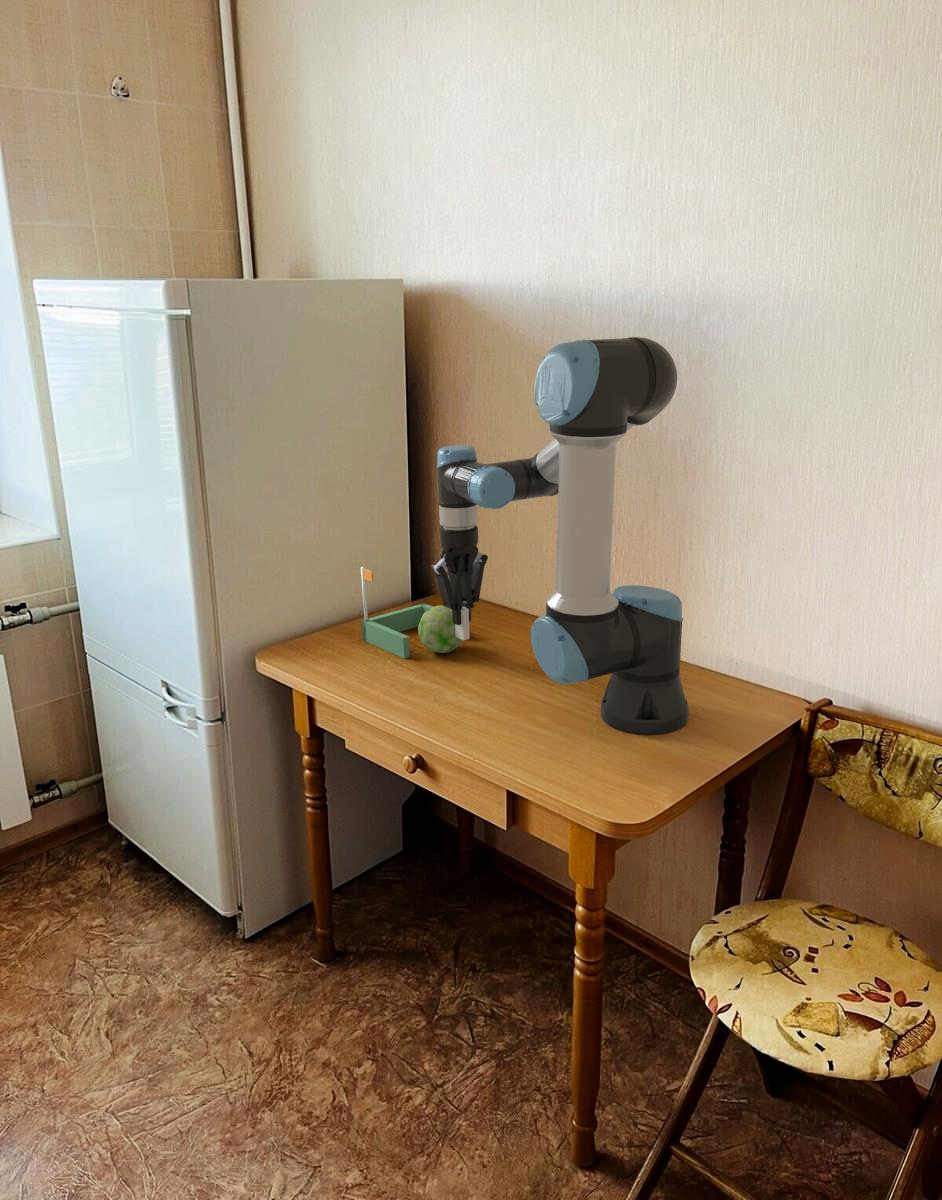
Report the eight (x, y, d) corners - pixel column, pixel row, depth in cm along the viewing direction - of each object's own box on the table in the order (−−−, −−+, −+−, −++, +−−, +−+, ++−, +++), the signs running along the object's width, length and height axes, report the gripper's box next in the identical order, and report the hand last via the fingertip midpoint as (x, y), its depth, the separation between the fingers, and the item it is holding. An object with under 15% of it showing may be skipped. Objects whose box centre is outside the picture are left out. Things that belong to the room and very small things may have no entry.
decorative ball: (471, 657, 197) (469, 611, 194) (424, 662, 195) (421, 616, 192) (460, 641, 206) (458, 597, 203) (414, 646, 204) (412, 602, 201)
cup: (467, 638, 208) (465, 565, 202) (404, 658, 197) (400, 582, 192) (424, 621, 219) (421, 552, 214) (362, 639, 209) (357, 567, 204)
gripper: (472, 516, 194) (475, 625, 201) (420, 528, 186) (425, 641, 193) (496, 522, 188) (498, 634, 196) (444, 534, 180) (448, 650, 188)
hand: (462, 637), depth 195 cm, fingers closed
